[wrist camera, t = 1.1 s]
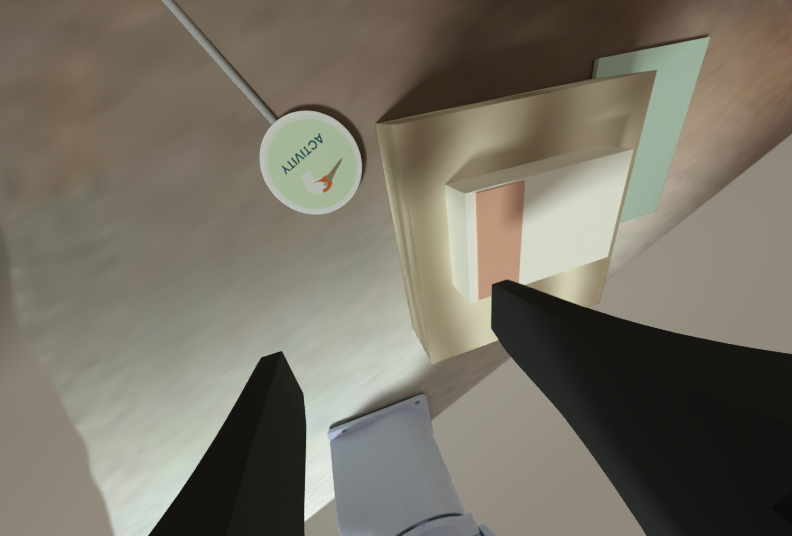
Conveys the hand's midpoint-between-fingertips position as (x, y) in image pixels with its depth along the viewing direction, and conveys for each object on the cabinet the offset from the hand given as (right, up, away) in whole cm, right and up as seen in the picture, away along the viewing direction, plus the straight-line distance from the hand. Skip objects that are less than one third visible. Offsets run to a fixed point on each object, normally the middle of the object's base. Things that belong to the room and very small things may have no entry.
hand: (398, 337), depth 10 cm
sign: (-8, +11, +4) cm, 14 cm away
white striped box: (+7, +5, +7) cm, 11 cm away
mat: (+17, +11, +12) cm, 24 cm away
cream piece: (+7, +6, +11) cm, 14 cm away
